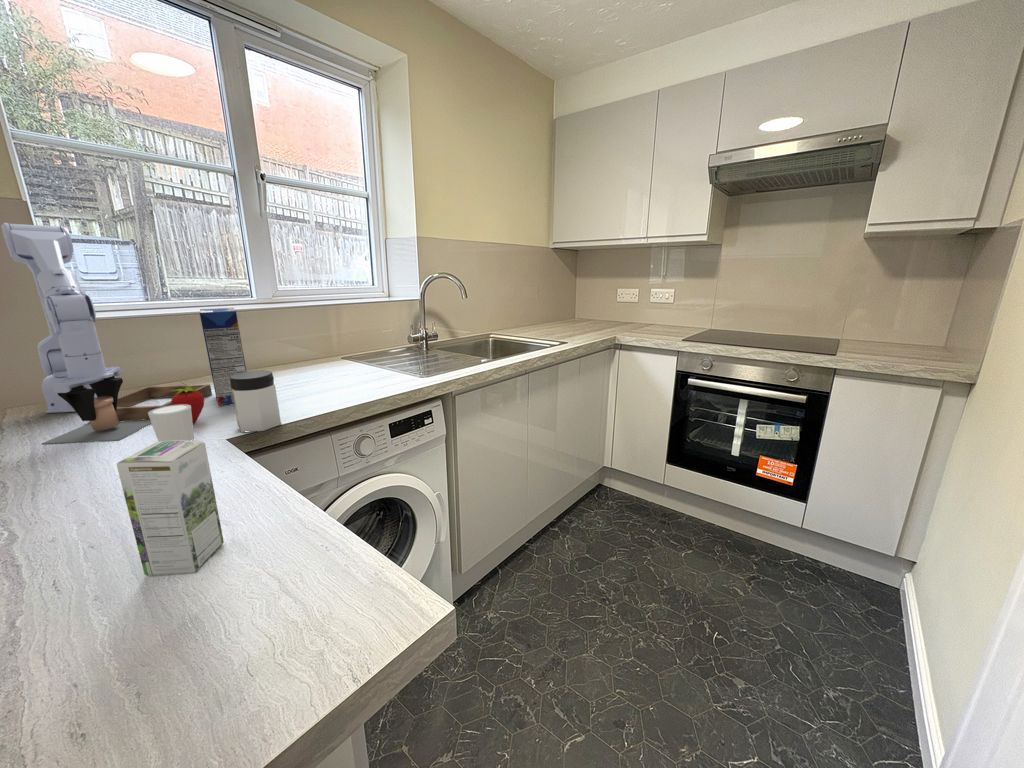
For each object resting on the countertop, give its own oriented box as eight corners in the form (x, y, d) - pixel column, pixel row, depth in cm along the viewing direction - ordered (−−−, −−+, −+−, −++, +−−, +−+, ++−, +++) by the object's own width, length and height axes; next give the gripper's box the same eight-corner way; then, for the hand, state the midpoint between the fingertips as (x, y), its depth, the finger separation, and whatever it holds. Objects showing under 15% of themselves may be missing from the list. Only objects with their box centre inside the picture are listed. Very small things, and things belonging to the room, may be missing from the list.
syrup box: (178, 545, 53) (152, 440, 49) (227, 543, 53) (204, 438, 50) (144, 577, 48) (111, 461, 44) (198, 574, 48) (171, 459, 44)
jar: (284, 427, 93) (276, 375, 90) (241, 436, 88) (231, 381, 85) (276, 416, 100) (268, 368, 97) (236, 424, 95) (226, 373, 92)
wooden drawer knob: (83, 432, 88) (72, 406, 86) (102, 421, 93) (92, 396, 91) (110, 430, 89) (100, 405, 86) (128, 419, 93) (118, 395, 91)
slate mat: (41, 444, 84) (41, 443, 84) (90, 423, 95) (90, 422, 95) (119, 440, 86) (119, 439, 86) (158, 420, 97) (158, 419, 97)
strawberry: (173, 430, 91) (163, 386, 88) (180, 420, 97) (170, 378, 95) (206, 426, 94) (197, 383, 91) (210, 416, 100) (202, 375, 97)
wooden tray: (89, 422, 96) (86, 409, 95) (149, 396, 115) (146, 386, 114) (165, 418, 98) (163, 406, 97) (212, 394, 117) (210, 384, 116)
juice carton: (217, 395, 116) (200, 309, 110) (248, 391, 120) (233, 307, 114) (218, 406, 107) (199, 312, 100) (251, 401, 111) (236, 311, 105)
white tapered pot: (205, 437, 87) (199, 405, 86) (170, 450, 81) (162, 416, 79) (183, 433, 90) (176, 402, 88) (147, 445, 83) (139, 412, 81)
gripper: (74, 360, 79) (93, 427, 83) (130, 347, 93) (144, 404, 97) (32, 361, 78) (53, 428, 82) (94, 348, 92) (110, 405, 96)
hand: (100, 415), depth 89 cm, fingers closed on wooden drawer knob, 5 cm apart
